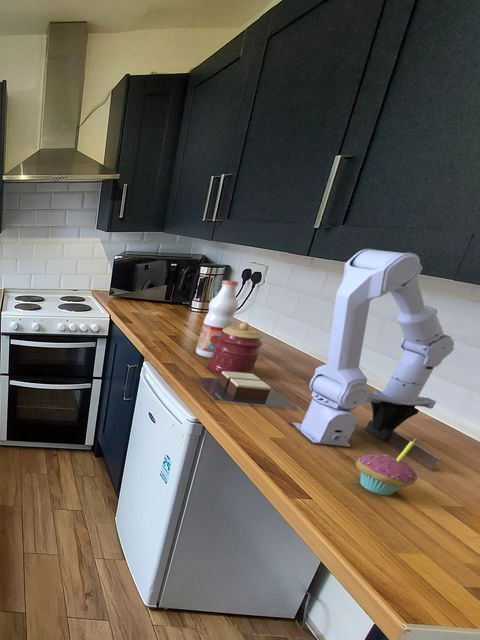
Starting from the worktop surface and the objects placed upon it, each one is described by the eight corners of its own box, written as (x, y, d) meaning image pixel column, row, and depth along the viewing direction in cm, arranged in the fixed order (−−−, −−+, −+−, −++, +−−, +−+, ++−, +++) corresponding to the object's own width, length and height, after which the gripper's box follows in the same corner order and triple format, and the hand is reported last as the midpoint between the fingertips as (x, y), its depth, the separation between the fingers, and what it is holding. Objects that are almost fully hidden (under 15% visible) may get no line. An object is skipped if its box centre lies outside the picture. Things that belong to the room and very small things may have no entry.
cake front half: (266, 400, 117) (271, 387, 115) (233, 397, 118) (237, 384, 116) (258, 393, 121) (262, 381, 119) (226, 390, 122) (230, 378, 121)
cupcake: (380, 477, 85) (408, 428, 80) (417, 504, 77) (451, 452, 72) (337, 473, 85) (362, 424, 80) (370, 500, 77) (399, 448, 73)
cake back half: (256, 391, 122) (260, 379, 121) (224, 388, 123) (228, 376, 122) (248, 385, 126) (252, 373, 125) (218, 382, 128) (222, 371, 126)
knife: (365, 428, 104) (370, 418, 103) (374, 429, 104) (379, 419, 103) (426, 469, 88) (433, 458, 87) (436, 470, 88) (444, 459, 86)
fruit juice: (206, 349, 160) (227, 278, 149) (228, 357, 152) (252, 283, 141) (189, 352, 157) (209, 279, 145) (210, 360, 149) (233, 284, 137)
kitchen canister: (216, 377, 133) (232, 325, 126) (202, 363, 145) (216, 315, 138) (258, 381, 131) (277, 329, 124) (241, 367, 143) (257, 319, 136)
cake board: (297, 409, 113) (298, 407, 113) (214, 402, 116) (215, 400, 115) (264, 384, 129) (264, 382, 129) (192, 378, 132) (192, 376, 132)
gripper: (427, 376, 98) (400, 424, 103) (361, 371, 100) (339, 418, 105) (454, 388, 91) (424, 439, 97) (384, 382, 93) (358, 432, 99)
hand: (381, 429), depth 101 cm, fingers closed on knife, 2 cm apart
